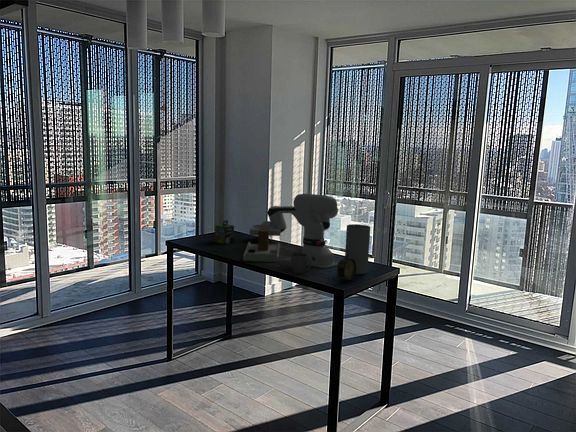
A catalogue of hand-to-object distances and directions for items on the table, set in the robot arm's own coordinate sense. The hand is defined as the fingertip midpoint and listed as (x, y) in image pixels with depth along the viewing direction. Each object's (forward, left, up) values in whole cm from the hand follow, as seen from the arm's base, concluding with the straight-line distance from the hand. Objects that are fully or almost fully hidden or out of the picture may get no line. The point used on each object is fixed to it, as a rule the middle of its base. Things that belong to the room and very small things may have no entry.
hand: (264, 234), depth 313 cm
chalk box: (+24, +14, -8) cm, 29 cm away
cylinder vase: (-74, 0, -8) cm, 75 cm away
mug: (-57, +25, -8) cm, 63 cm away
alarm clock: (-82, +18, -8) cm, 84 cm away
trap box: (-14, +14, -8) cm, 22 cm away
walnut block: (-8, +8, -6) cm, 13 cm away
